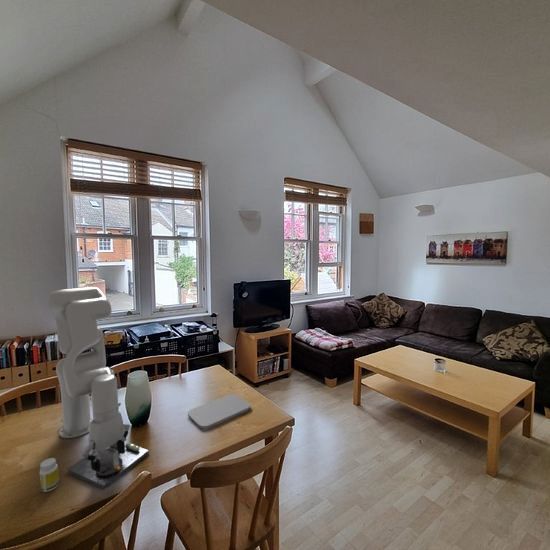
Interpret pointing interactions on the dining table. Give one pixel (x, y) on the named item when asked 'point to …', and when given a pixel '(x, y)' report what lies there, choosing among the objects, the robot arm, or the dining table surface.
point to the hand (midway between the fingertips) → (109, 460)
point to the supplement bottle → (49, 475)
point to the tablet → (218, 411)
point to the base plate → (129, 460)
